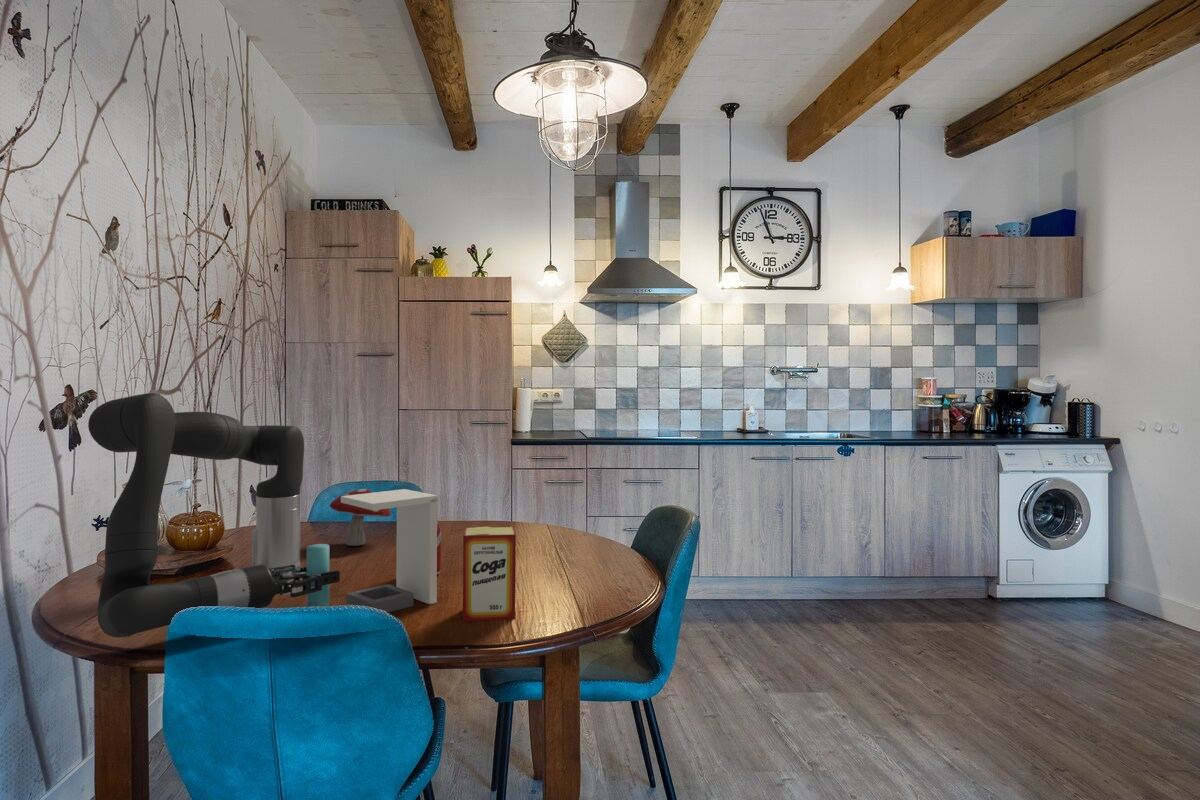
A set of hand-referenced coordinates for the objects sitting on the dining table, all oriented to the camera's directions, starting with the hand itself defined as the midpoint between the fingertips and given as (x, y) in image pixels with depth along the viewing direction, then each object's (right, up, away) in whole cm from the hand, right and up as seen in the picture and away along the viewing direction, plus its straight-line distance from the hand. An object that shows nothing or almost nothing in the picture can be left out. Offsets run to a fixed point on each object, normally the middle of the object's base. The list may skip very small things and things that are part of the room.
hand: (330, 572), depth 134 cm
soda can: (+13, -6, +23) cm, 27 cm away
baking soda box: (+31, -7, -4) cm, 32 cm away
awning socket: (+11, -7, +2) cm, 13 cm away
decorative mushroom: (-12, -6, +52) cm, 53 cm away
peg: (-2, -7, -2) cm, 7 cm away
